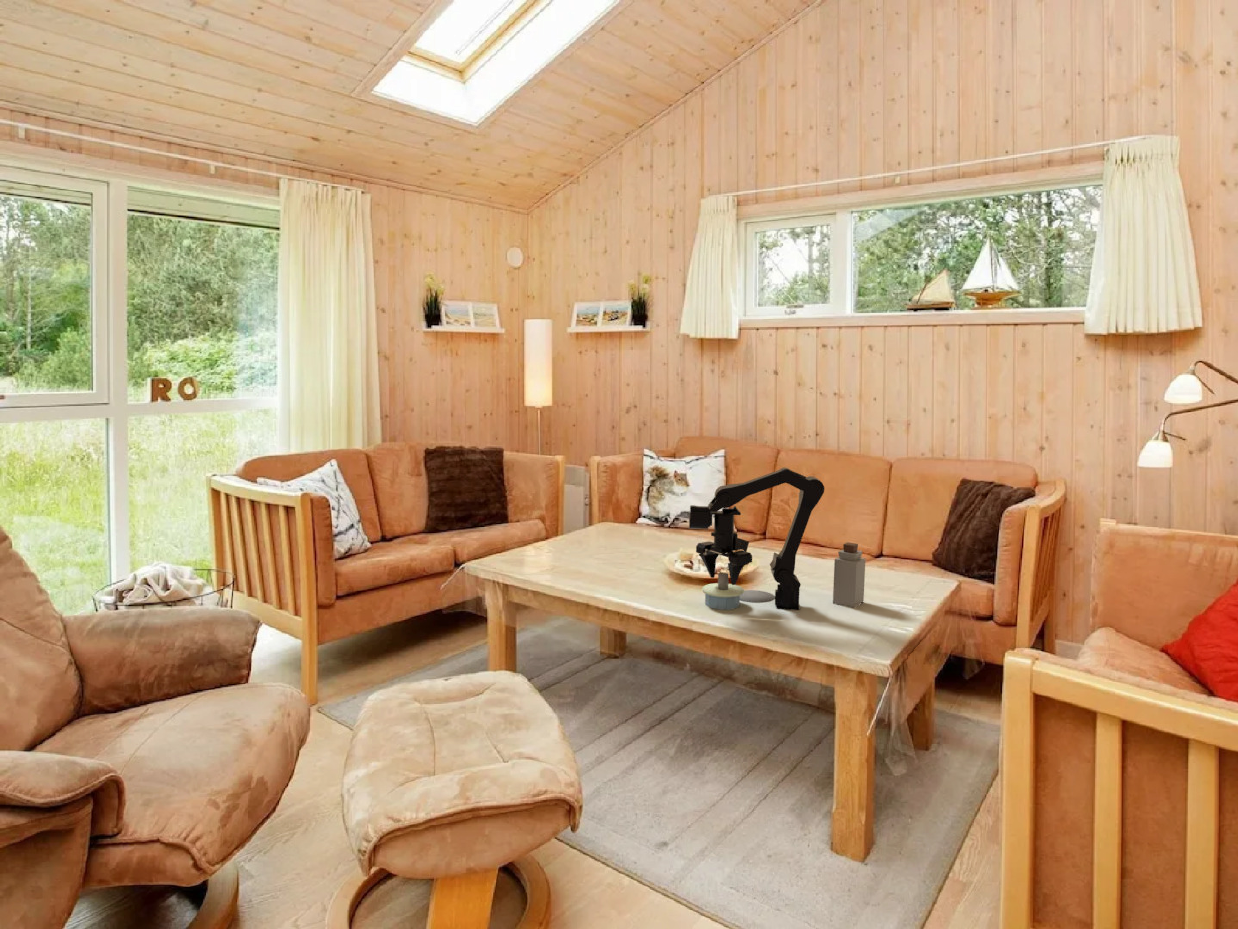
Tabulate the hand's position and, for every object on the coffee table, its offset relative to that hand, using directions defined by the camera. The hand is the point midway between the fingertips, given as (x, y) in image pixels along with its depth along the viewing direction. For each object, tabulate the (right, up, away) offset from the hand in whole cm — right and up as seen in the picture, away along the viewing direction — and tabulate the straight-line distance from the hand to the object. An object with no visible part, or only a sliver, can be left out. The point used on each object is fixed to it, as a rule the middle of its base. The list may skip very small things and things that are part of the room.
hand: (722, 581), depth 227 cm
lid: (0, -3, 0) cm, 3 cm away
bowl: (0, -7, +1) cm, 8 cm away
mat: (+11, -6, +9) cm, 15 cm away
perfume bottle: (+38, -7, +4) cm, 39 cm away
